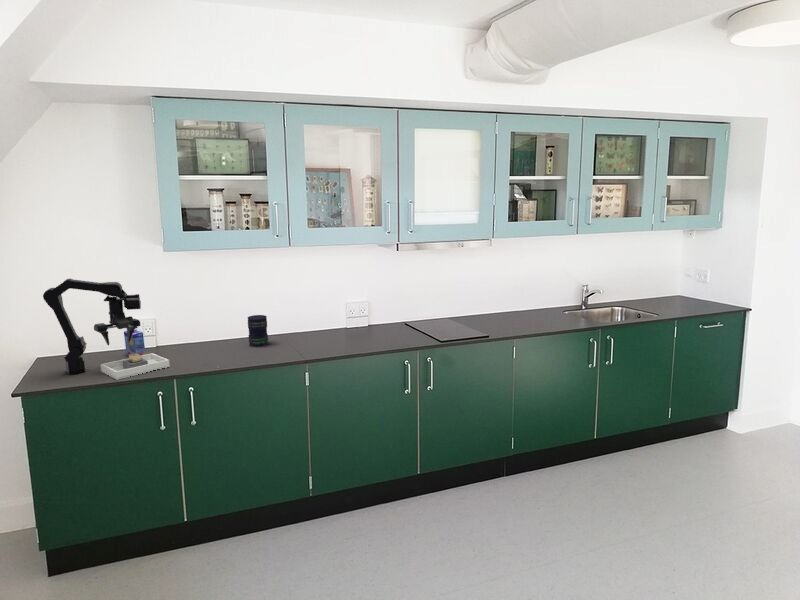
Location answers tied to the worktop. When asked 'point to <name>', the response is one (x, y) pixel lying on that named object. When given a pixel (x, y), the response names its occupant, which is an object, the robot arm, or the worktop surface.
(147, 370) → the walled box
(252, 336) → the storage jar
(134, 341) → the ink cartridge box
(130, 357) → the peg
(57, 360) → the worktop surface
